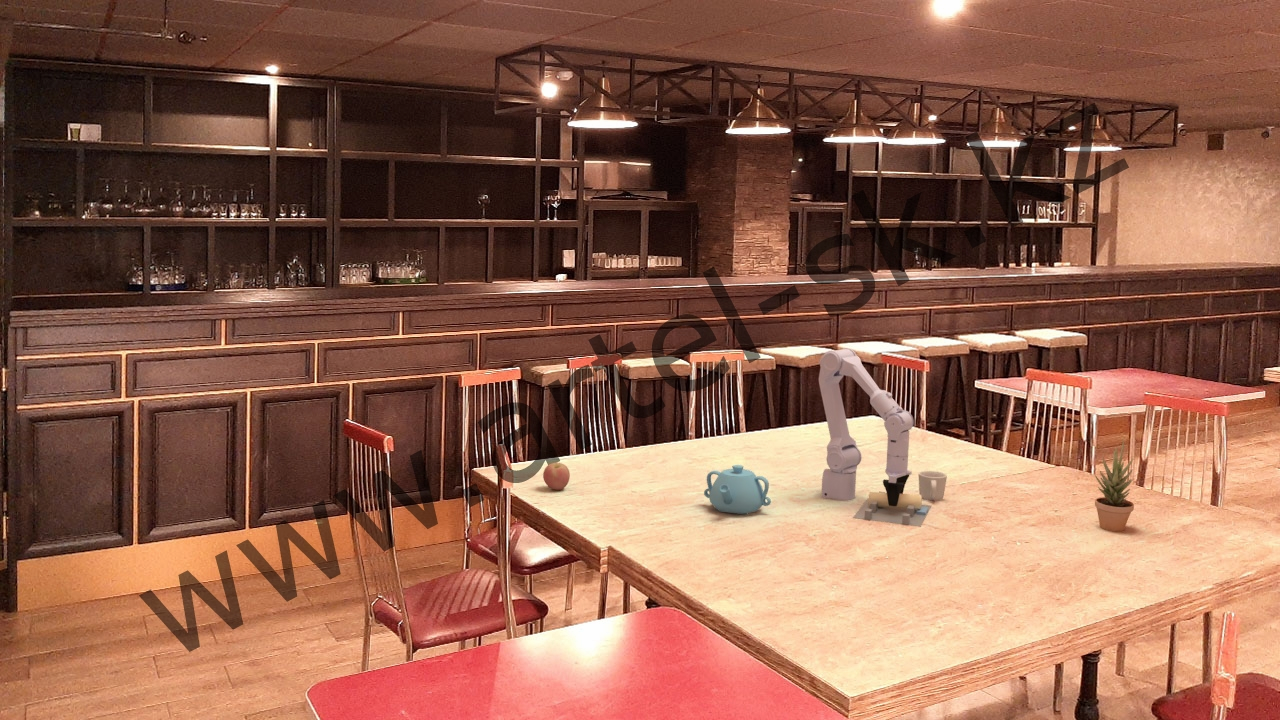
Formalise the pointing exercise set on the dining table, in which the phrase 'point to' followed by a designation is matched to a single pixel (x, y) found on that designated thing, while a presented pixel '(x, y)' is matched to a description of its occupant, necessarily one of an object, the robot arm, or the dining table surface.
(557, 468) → the apple
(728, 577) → the dining table surface
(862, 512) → the board
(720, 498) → the teapot
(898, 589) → the dining table surface
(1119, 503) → the potted plant
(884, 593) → the dining table surface
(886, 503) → the tan tapered cylinder
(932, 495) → the cup
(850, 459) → the robot arm
